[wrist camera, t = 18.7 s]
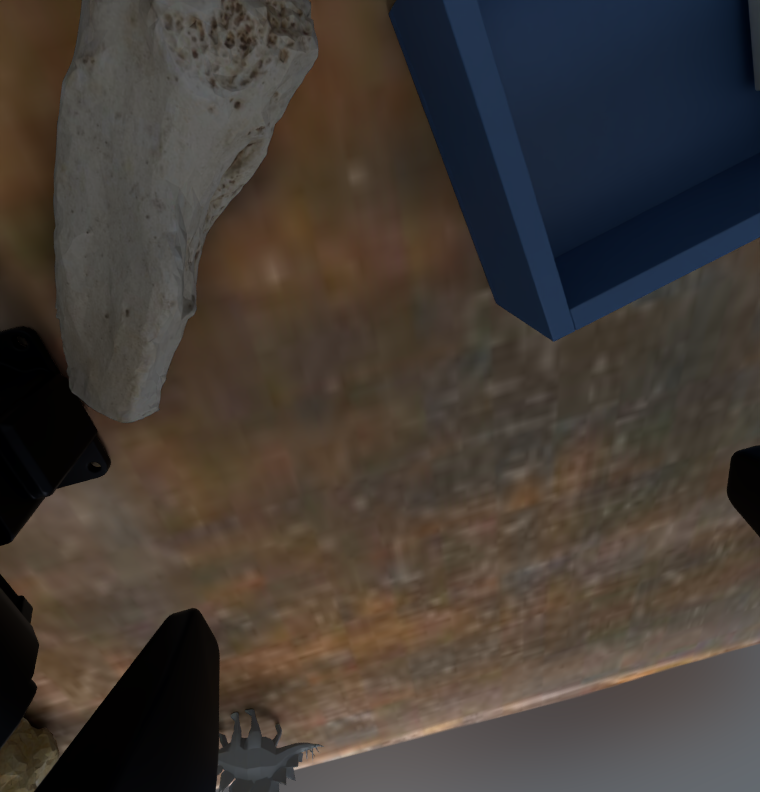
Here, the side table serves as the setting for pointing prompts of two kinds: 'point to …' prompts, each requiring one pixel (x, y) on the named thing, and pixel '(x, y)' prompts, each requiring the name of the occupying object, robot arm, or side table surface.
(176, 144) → the bone fragment
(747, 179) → the blue box
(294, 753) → the stegosaurus
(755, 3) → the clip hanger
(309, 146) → the side table surface
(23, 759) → the stone tool
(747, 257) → the side table surface
